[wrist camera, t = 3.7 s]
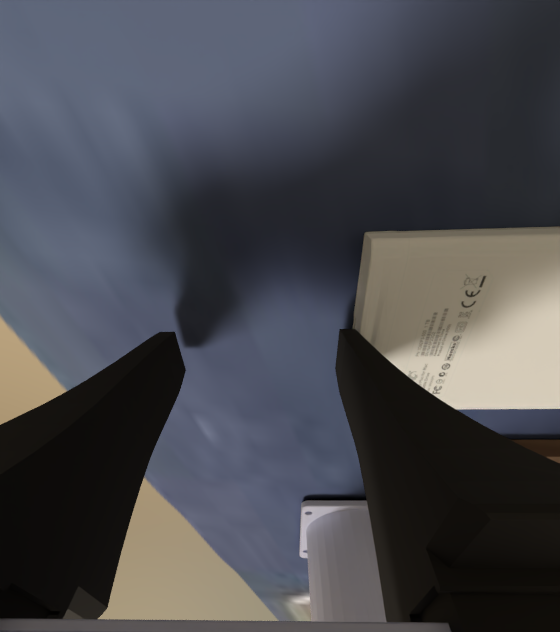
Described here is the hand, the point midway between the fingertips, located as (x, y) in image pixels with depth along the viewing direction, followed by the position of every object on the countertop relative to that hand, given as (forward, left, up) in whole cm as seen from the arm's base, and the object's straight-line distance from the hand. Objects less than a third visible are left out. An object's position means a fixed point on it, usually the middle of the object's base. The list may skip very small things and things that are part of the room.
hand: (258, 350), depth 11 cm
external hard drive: (0, -10, -2) cm, 10 cm away
